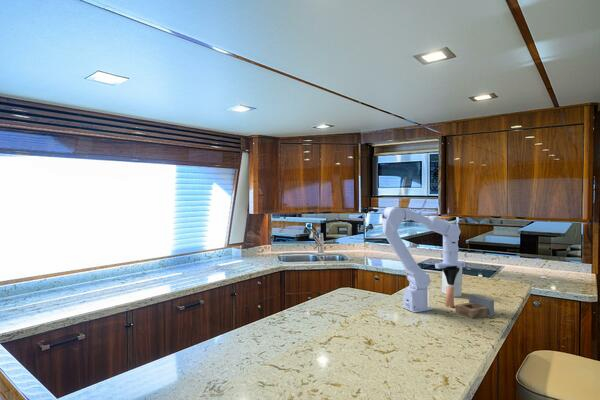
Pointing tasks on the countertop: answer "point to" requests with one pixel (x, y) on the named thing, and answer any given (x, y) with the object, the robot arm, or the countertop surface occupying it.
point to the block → (471, 310)
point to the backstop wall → (483, 303)
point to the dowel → (449, 296)
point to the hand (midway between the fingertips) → (450, 284)
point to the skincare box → (456, 285)
